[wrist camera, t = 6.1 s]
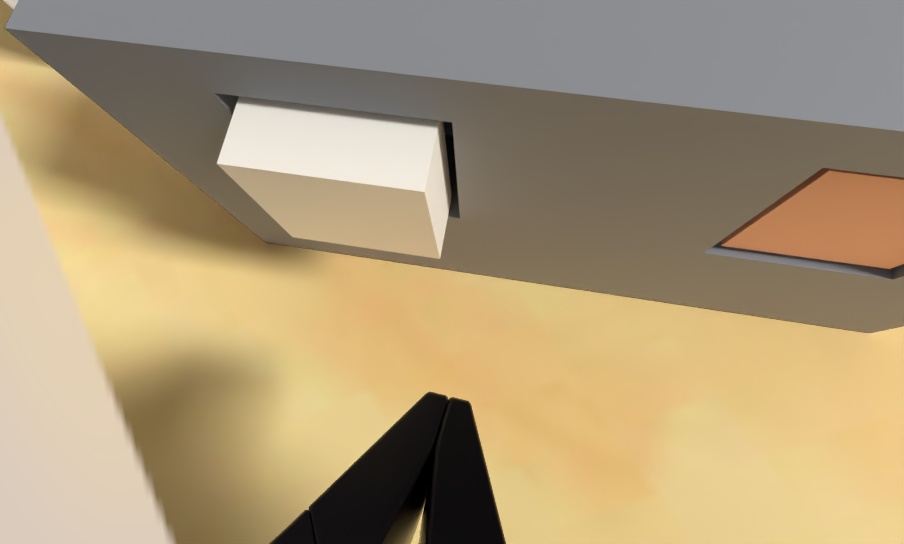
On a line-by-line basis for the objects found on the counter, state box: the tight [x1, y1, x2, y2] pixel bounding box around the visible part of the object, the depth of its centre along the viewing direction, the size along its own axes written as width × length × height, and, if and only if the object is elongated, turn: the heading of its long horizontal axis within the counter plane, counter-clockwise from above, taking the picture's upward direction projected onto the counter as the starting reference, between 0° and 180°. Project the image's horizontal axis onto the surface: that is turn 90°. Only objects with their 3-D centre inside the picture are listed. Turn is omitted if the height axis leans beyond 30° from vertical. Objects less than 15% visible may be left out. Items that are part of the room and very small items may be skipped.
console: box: [5, 0, 904, 333], centre depth 13 cm, size 5×22×11 cm, turn 80°
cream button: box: [217, 96, 452, 259], centre depth 11 cm, size 2×4×4 cm, turn 80°
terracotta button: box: [721, 168, 904, 269], centre depth 11 cm, size 2×4×4 cm, turn 80°
